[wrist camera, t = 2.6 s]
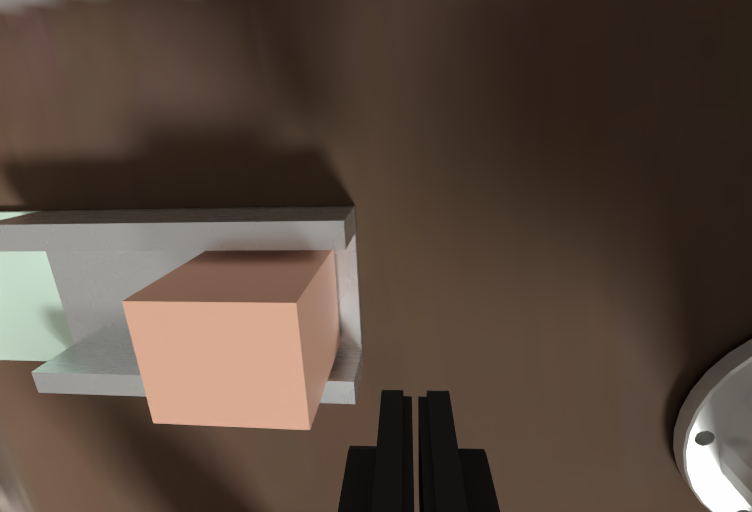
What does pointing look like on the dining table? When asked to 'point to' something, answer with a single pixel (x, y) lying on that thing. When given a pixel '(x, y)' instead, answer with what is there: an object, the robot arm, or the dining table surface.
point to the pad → (30, 306)
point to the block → (238, 338)
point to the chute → (159, 257)
